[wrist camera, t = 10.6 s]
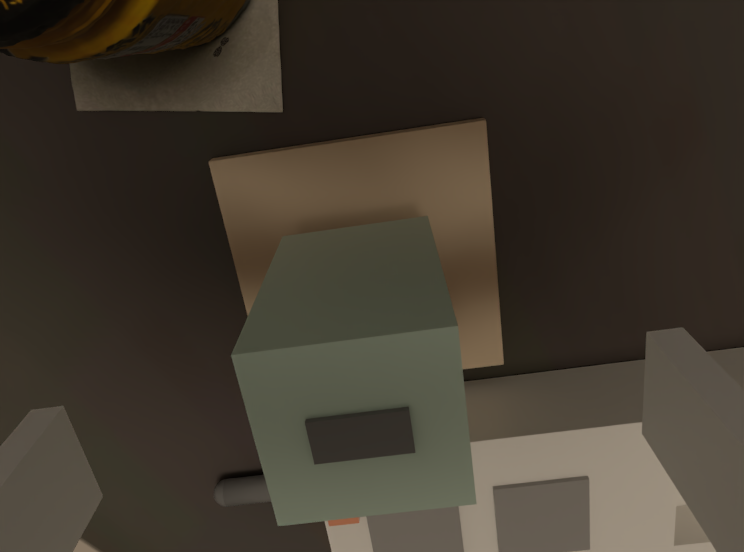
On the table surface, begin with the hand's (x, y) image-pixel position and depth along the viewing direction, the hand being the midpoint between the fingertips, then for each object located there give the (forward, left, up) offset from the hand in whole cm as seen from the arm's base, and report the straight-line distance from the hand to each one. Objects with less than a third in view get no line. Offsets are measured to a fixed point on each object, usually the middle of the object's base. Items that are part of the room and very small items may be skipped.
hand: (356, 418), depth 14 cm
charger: (+1, 0, -10) cm, 10 cm away
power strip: (+10, +4, -11) cm, 16 cm away
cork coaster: (0, 0, -11) cm, 11 cm away
